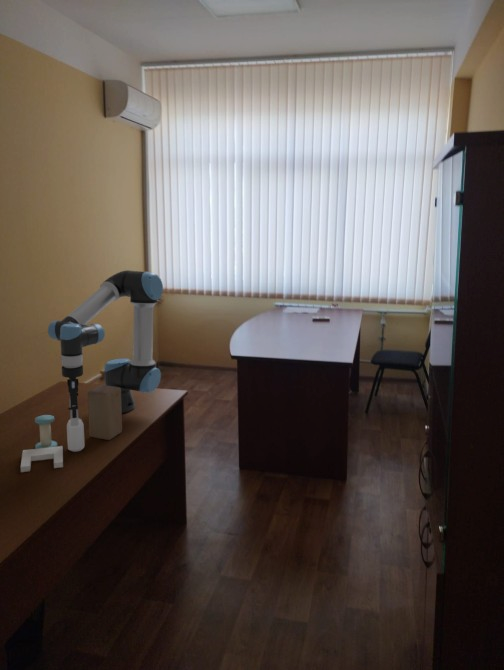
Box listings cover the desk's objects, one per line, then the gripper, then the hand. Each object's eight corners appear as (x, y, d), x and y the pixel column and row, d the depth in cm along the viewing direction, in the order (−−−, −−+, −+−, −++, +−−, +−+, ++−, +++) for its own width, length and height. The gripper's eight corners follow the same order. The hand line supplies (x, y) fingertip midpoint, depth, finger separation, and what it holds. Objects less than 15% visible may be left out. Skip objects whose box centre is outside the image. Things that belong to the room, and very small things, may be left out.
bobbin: (57, 441, 214) (55, 413, 211) (57, 450, 207) (55, 421, 204) (35, 444, 212) (33, 415, 209) (34, 452, 204) (32, 423, 202)
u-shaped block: (62, 450, 207) (62, 445, 206) (62, 467, 194) (62, 461, 193) (23, 455, 202) (23, 450, 202) (20, 472, 189) (20, 466, 189)
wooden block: (123, 432, 225) (121, 386, 221) (109, 441, 216) (107, 394, 212) (102, 428, 228) (101, 383, 224) (88, 437, 219) (86, 390, 215)
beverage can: (75, 454, 204) (73, 424, 201) (64, 450, 207) (62, 420, 205) (88, 448, 209) (86, 419, 207) (77, 444, 212) (75, 416, 210)
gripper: (61, 357, 211) (63, 408, 215) (61, 375, 188) (64, 432, 192) (81, 356, 213) (83, 407, 218) (84, 373, 190) (86, 430, 195)
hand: (74, 418), depth 205 cm, fingers open, 13 cm apart
